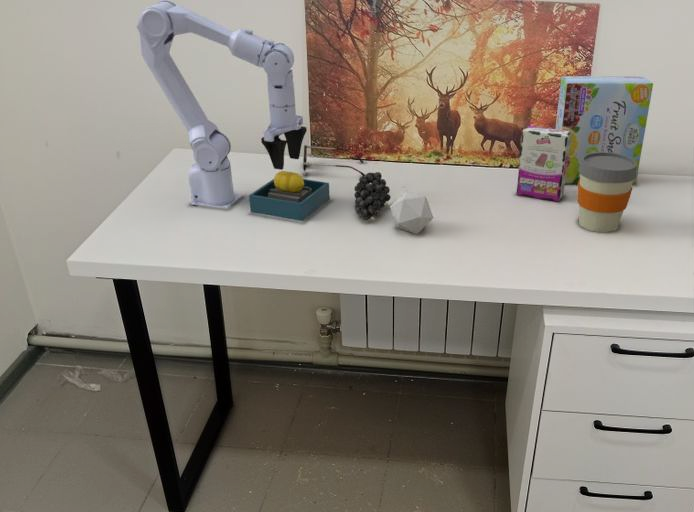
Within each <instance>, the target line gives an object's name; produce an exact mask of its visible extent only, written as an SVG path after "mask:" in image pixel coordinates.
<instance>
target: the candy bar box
mask: <svg viewBox="0 0 694 512" xmlns="http://www.w3.org/2000/svg"><path fill="white" fill-rule="evenodd" d="M571 132H572V131H566V130H559V129H555V128H549V127H543V126H535V125H534V126H533V125H527V126H526V127H525V128H523V130H522V133H521V142H520V143H521V144H520V152H519V153H520V155H519V163H518V164H519V165H518V166H519V167H518V175H517V185H516V195H517V196H522V197H527V198H528V197H529V198H535V199H539V200H546V201H554V202H560V201H561V199H562V198H563V197H564V195H565V185H566V184H565V179H566V171H567V163H568V155H569V148H570V140H571Z"/></svg>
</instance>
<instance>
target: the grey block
mask: <svg viewBox="0 0 694 512" xmlns="http://www.w3.org/2000/svg"><path fill="white" fill-rule="evenodd" d="M311 194H312V188H310V187H304V186H303V188H302V190H301V191H299V192H297V193H293V192H286V191H280V190H278V189H277V188H275V189H270V192H269V193H268V197H269V198H275V199H281V200H287V201H293V202H299V203H300V202H302V201H303V200H304V199H306V198H307V197H308V196H310V195H311Z"/></svg>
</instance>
